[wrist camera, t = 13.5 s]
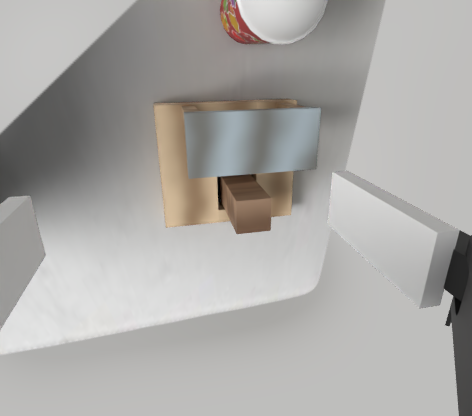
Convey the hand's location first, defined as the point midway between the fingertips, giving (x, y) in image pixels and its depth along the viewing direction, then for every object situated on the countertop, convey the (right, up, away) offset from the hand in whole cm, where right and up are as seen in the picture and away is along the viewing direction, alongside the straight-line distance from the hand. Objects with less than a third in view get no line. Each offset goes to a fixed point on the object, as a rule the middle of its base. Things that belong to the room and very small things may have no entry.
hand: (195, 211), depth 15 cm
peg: (+1, +4, +34) cm, 34 cm away
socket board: (0, +7, +32) cm, 33 cm away
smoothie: (+3, +24, +26) cm, 36 cm away
